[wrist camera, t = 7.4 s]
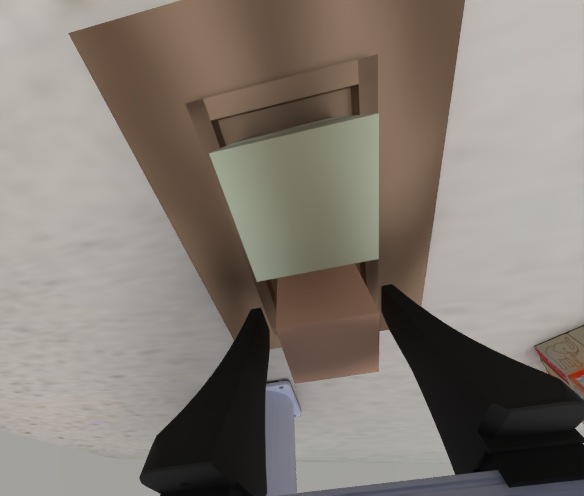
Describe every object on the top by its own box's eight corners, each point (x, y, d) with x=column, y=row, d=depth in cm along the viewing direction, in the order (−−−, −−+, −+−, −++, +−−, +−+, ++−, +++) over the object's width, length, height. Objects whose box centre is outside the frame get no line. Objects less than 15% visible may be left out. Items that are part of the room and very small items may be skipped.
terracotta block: (291, 303, 17) (294, 383, 12) (278, 255, 15) (275, 329, 9) (348, 293, 16) (378, 371, 11) (344, 243, 14) (379, 312, 9)
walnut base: (243, 343, 21) (227, 435, 15) (87, 41, 10) (-243, -96, 4) (412, 315, 20) (470, 402, 13) (457, -65, 8) (891, -529, 2)
